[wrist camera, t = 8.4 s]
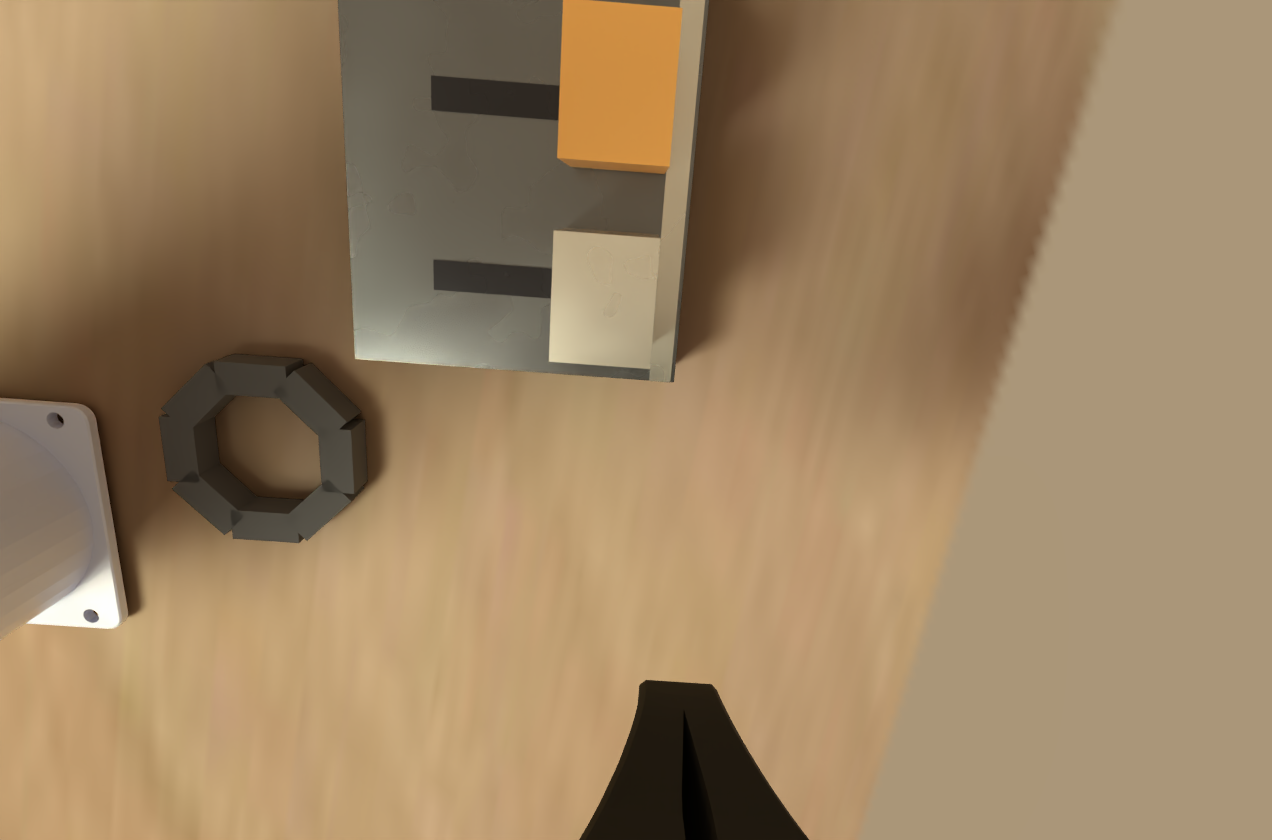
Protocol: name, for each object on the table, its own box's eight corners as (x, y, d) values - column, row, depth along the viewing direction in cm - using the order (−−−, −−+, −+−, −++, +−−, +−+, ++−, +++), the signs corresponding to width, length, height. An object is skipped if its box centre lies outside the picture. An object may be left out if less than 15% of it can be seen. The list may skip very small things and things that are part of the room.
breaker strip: (380, 345, 21) (304, 385, 16) (360, -208, 17) (251, -373, 12) (670, 366, 21) (679, 411, 16) (719, -177, 17) (751, -327, 12)
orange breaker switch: (570, 166, 17) (557, 158, 14) (576, 34, 16) (563, -2, 14) (664, 173, 17) (669, 166, 15) (675, 43, 17) (682, 8, 14)
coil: (196, 519, 23) (174, 534, 22) (175, 349, 21) (150, 356, 20) (369, 531, 23) (356, 546, 22) (362, 362, 21) (348, 371, 20)
